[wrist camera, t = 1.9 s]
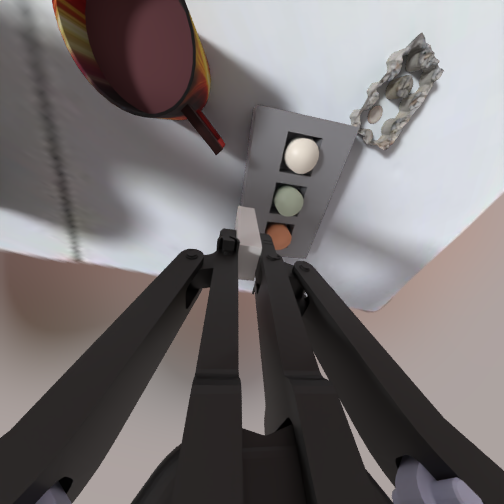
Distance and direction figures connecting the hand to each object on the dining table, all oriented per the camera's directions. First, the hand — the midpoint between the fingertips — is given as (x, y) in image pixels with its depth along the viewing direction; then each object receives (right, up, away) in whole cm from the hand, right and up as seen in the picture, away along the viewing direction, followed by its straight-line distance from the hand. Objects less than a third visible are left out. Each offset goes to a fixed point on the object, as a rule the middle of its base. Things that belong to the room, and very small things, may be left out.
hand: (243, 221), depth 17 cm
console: (+6, +8, +16) cm, 19 cm away
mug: (-8, +19, +7) cm, 22 cm away
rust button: (+5, +1, +17) cm, 18 cm away
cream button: (+7, +12, +10) cm, 17 cm away
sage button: (+6, +6, +14) cm, 16 cm away
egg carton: (+20, +20, +11) cm, 30 cm away
